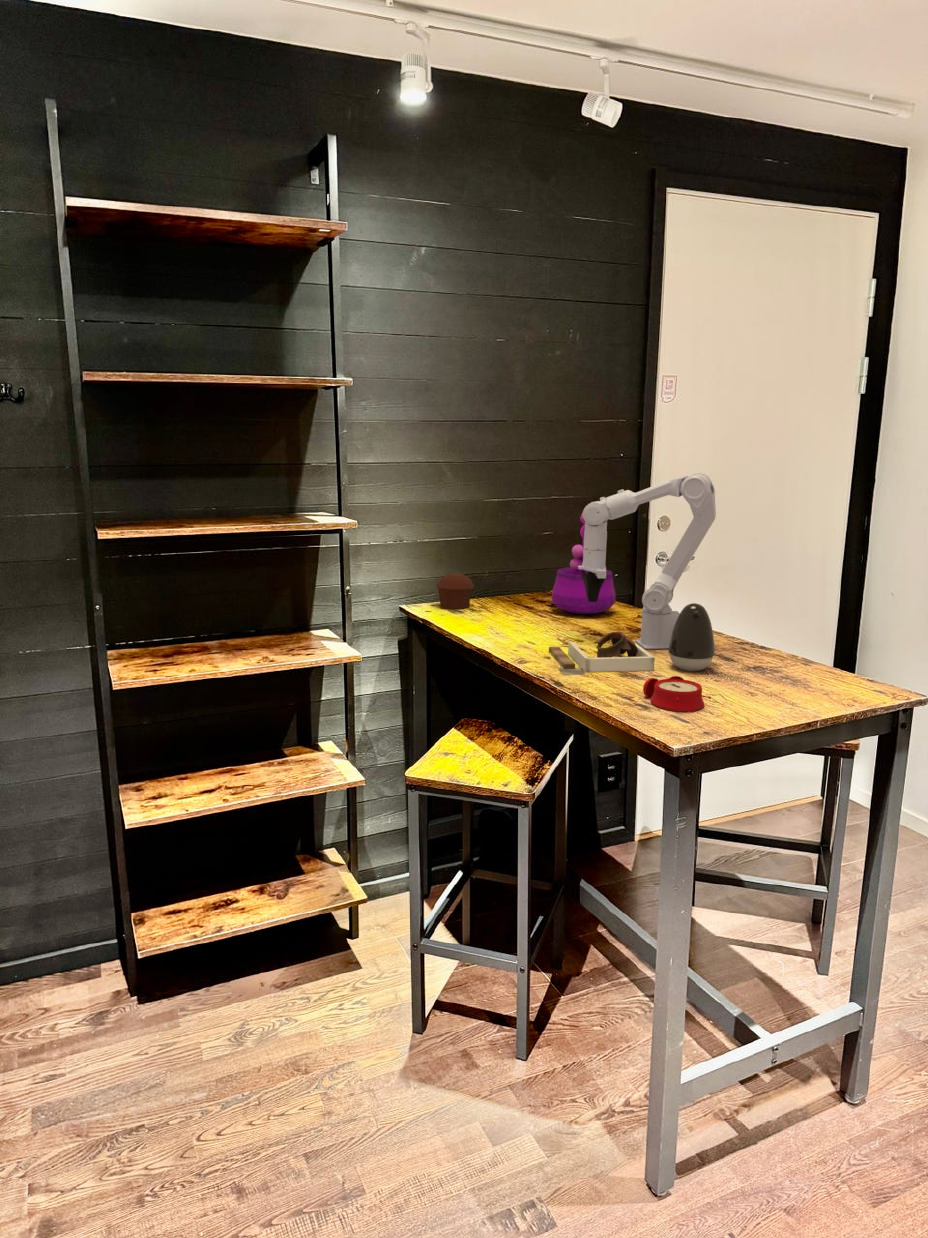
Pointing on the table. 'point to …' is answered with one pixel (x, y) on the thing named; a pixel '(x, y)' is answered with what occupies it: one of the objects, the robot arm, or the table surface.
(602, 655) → the brown hollow round piece
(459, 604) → the muffin
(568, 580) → the decorative plant
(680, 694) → the alarm clock
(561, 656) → the walnut scraper
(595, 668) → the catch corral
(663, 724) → the table surface
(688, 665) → the black egg shaped dome
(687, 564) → the robot arm
